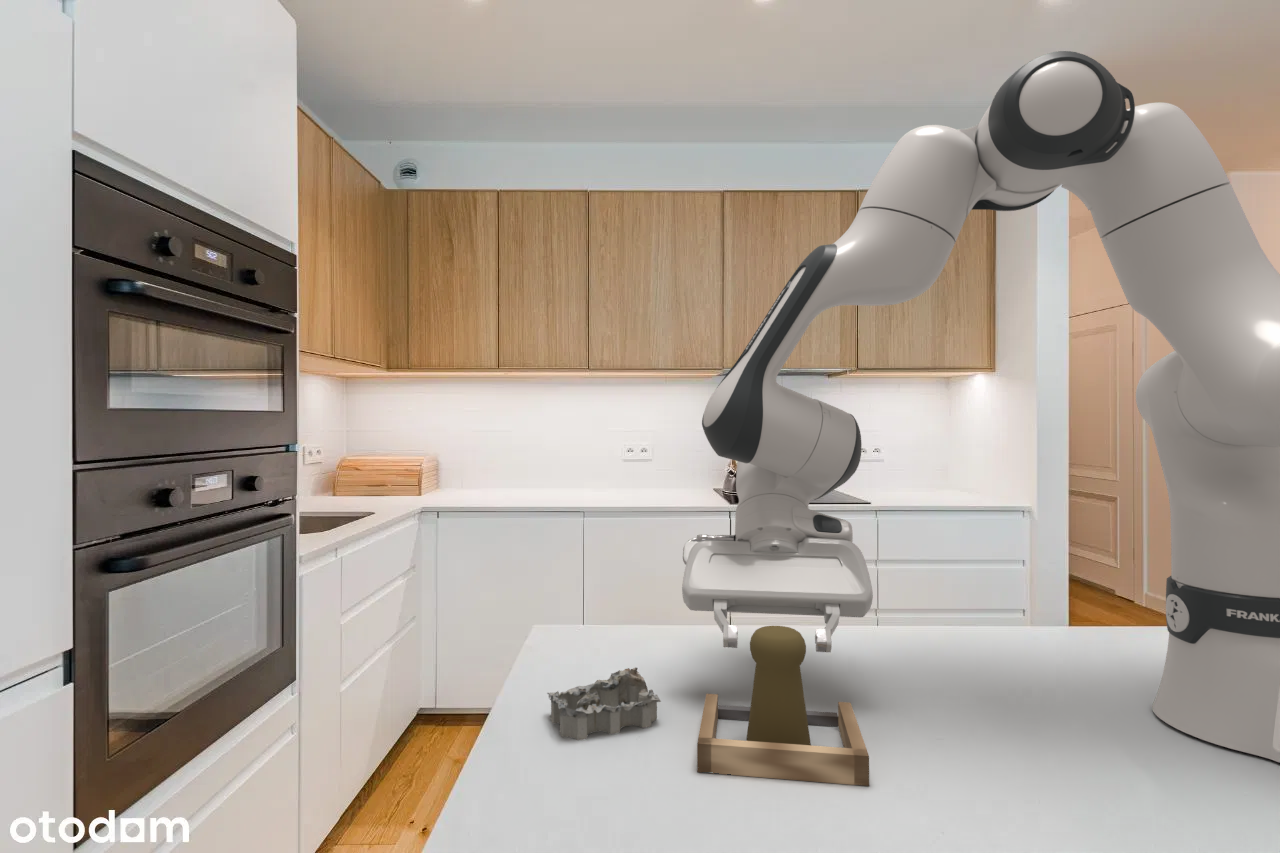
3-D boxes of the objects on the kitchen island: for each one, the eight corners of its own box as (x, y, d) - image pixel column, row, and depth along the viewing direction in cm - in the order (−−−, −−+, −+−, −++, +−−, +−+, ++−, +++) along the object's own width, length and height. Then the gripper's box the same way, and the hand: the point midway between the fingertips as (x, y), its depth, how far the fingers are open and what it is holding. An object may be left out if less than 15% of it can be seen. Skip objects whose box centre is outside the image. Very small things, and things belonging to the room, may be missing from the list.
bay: (849, 723, 69) (849, 698, 69) (869, 786, 57) (869, 756, 57) (707, 713, 71) (707, 689, 71) (697, 772, 59) (697, 743, 59)
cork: (812, 763, 61) (811, 640, 61) (744, 756, 62) (743, 636, 62) (810, 733, 67) (809, 621, 67) (747, 727, 68) (747, 618, 68)
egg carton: (640, 702, 75) (641, 665, 75) (665, 730, 68) (665, 690, 68) (545, 715, 72) (545, 676, 72) (560, 746, 65) (561, 703, 65)
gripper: (682, 518, 79) (673, 627, 69) (865, 522, 76) (882, 637, 66) (686, 550, 83) (678, 656, 74) (859, 554, 80) (874, 666, 70)
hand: (776, 647), depth 70 cm, fingers open, 8 cm apart
